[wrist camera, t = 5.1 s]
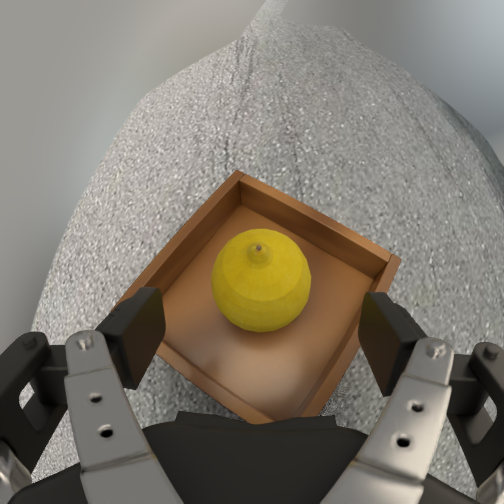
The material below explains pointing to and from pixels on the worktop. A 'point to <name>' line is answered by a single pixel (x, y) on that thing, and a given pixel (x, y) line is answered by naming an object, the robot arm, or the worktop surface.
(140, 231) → the worktop surface
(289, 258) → the fruit
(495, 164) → the worktop surface
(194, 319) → the crate
